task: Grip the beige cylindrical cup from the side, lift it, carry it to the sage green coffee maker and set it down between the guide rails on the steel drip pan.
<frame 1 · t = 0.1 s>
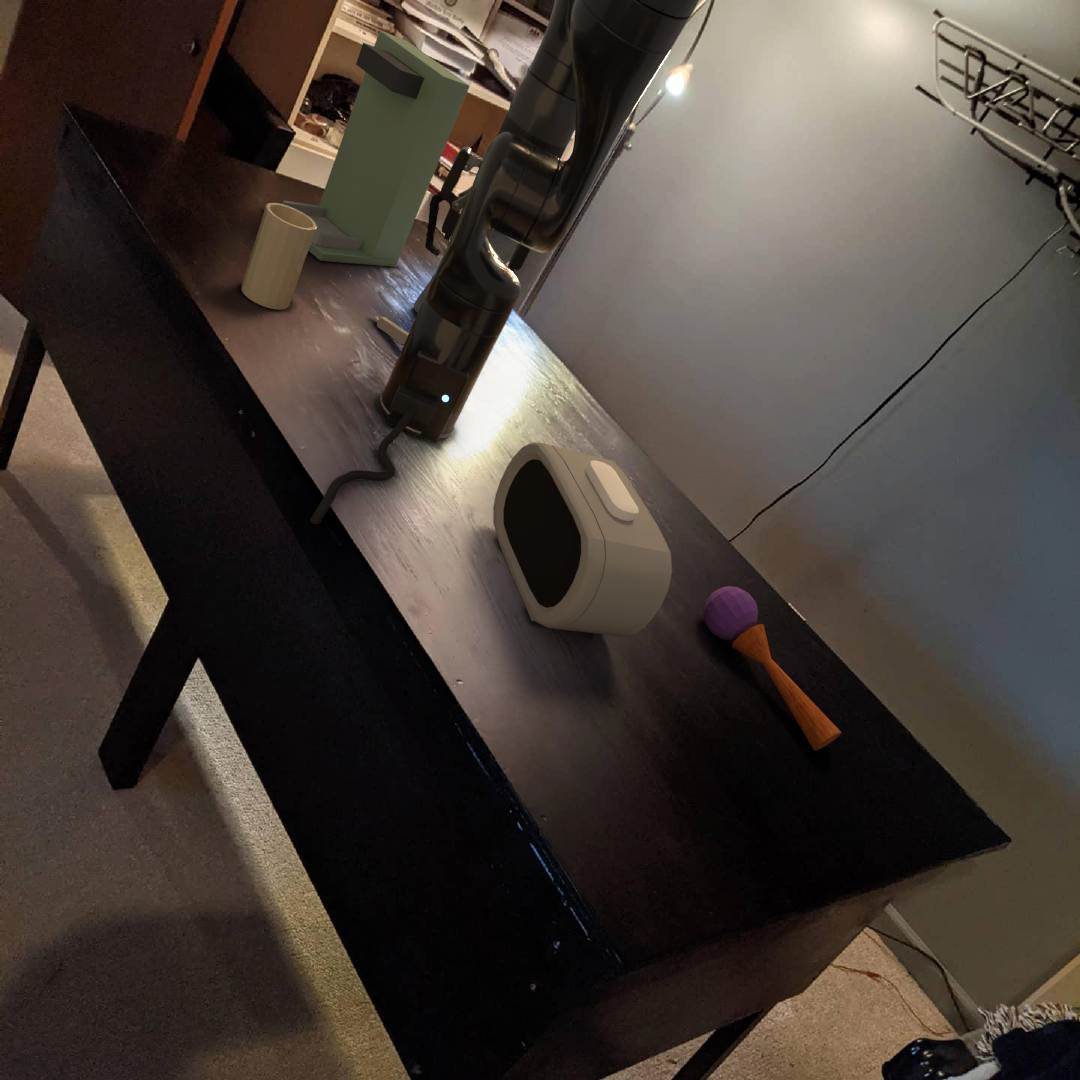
hand: (478, 253, 103), 17 cm above the table, tool pointing down, fingers open, 8 cm apart
alarm clock: (544, 585, 87), on the table
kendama: (754, 679, 93), on the table
moka pot: (436, 322, 128), on the table
coffee maker: (317, 238, 130), on the table
caliper: (411, 364, 112), on the table
beige cylindrical cup: (265, 296, 107), on the table
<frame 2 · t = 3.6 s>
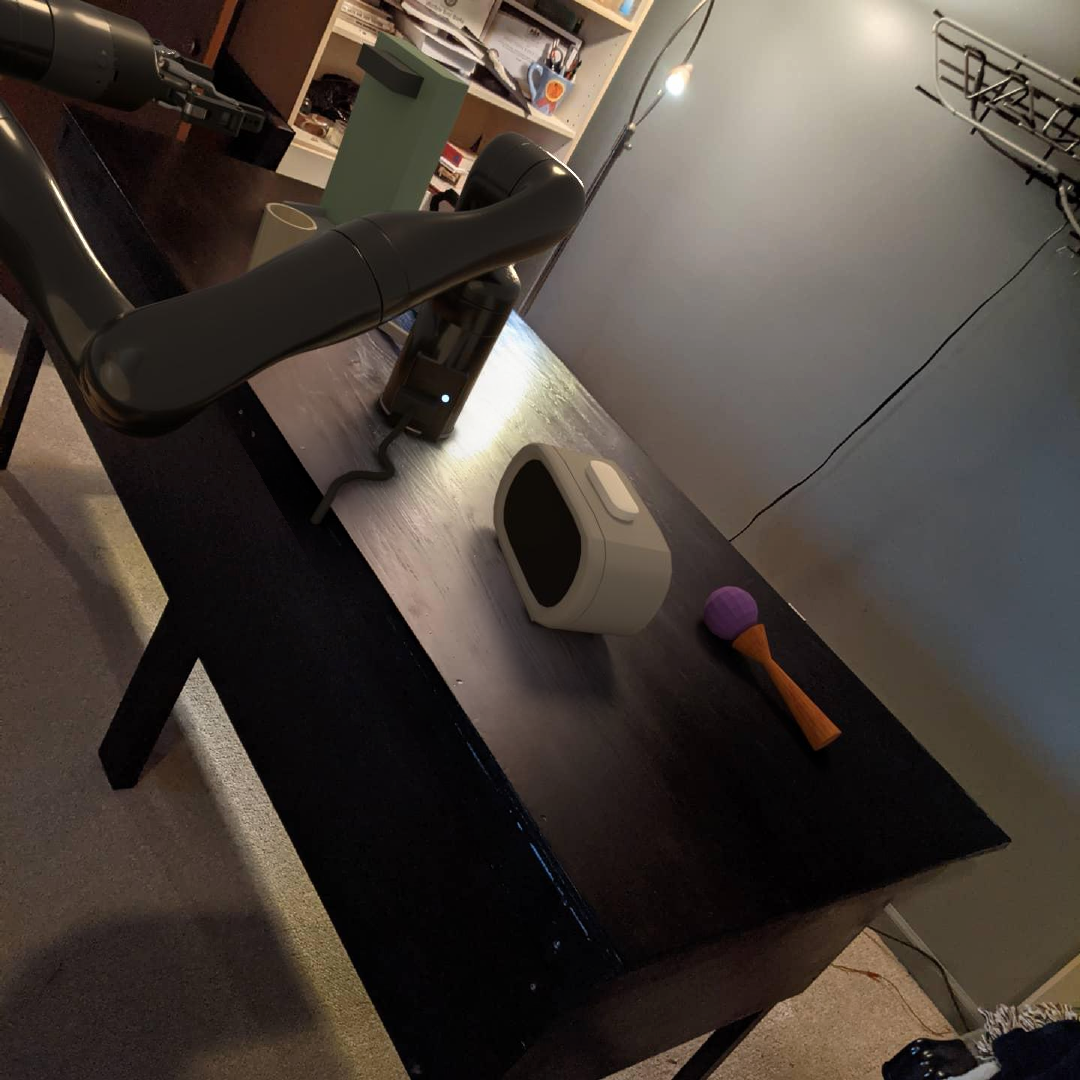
hand: (235, 100, 86), 23 cm above the table, tool horizontal, fingers open, 8 cm apart
nothing on the table moved.
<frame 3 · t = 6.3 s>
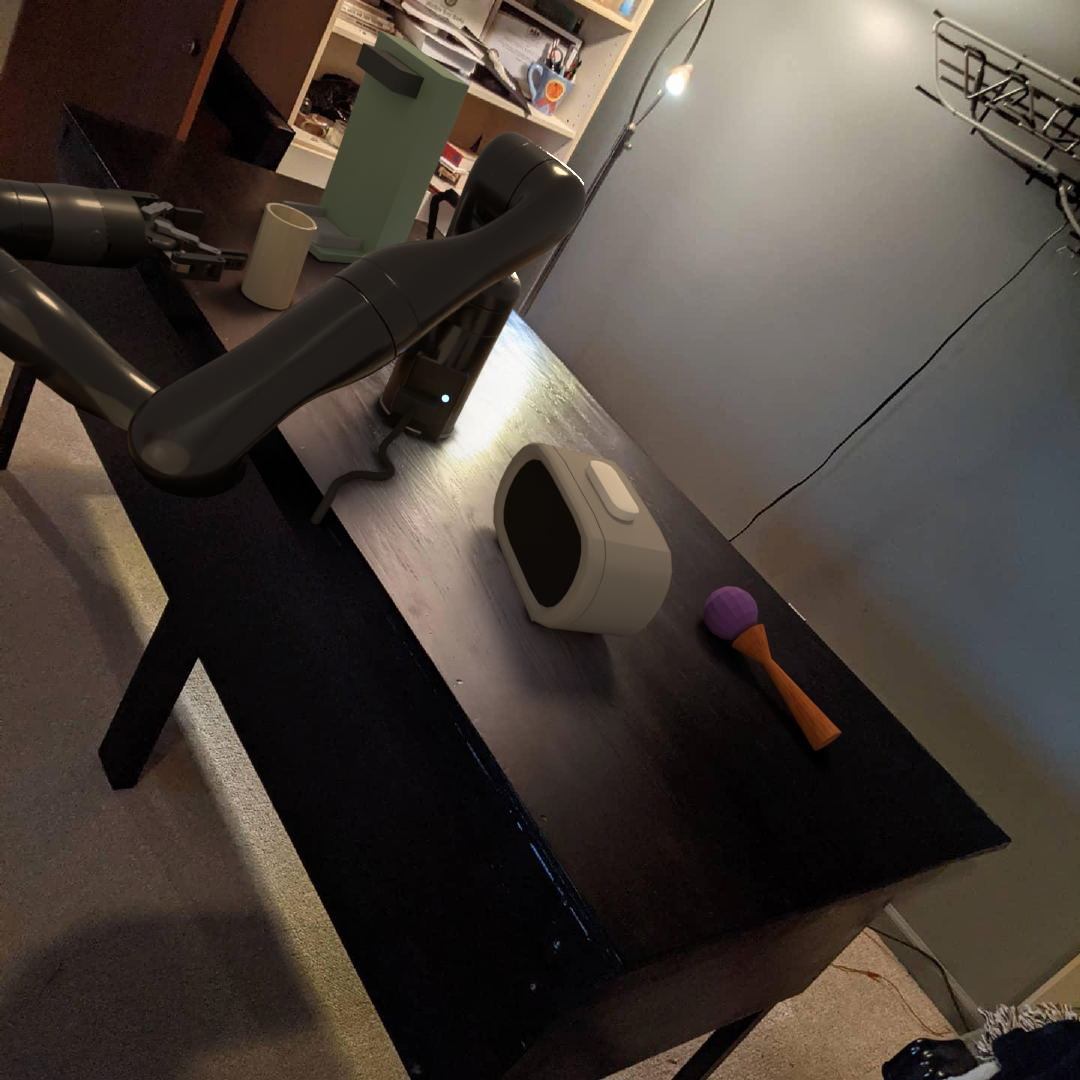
hand: (223, 240, 96), 7 cm above the table, tool horizontal, fingers open, 8 cm apart
nothing on the table moved.
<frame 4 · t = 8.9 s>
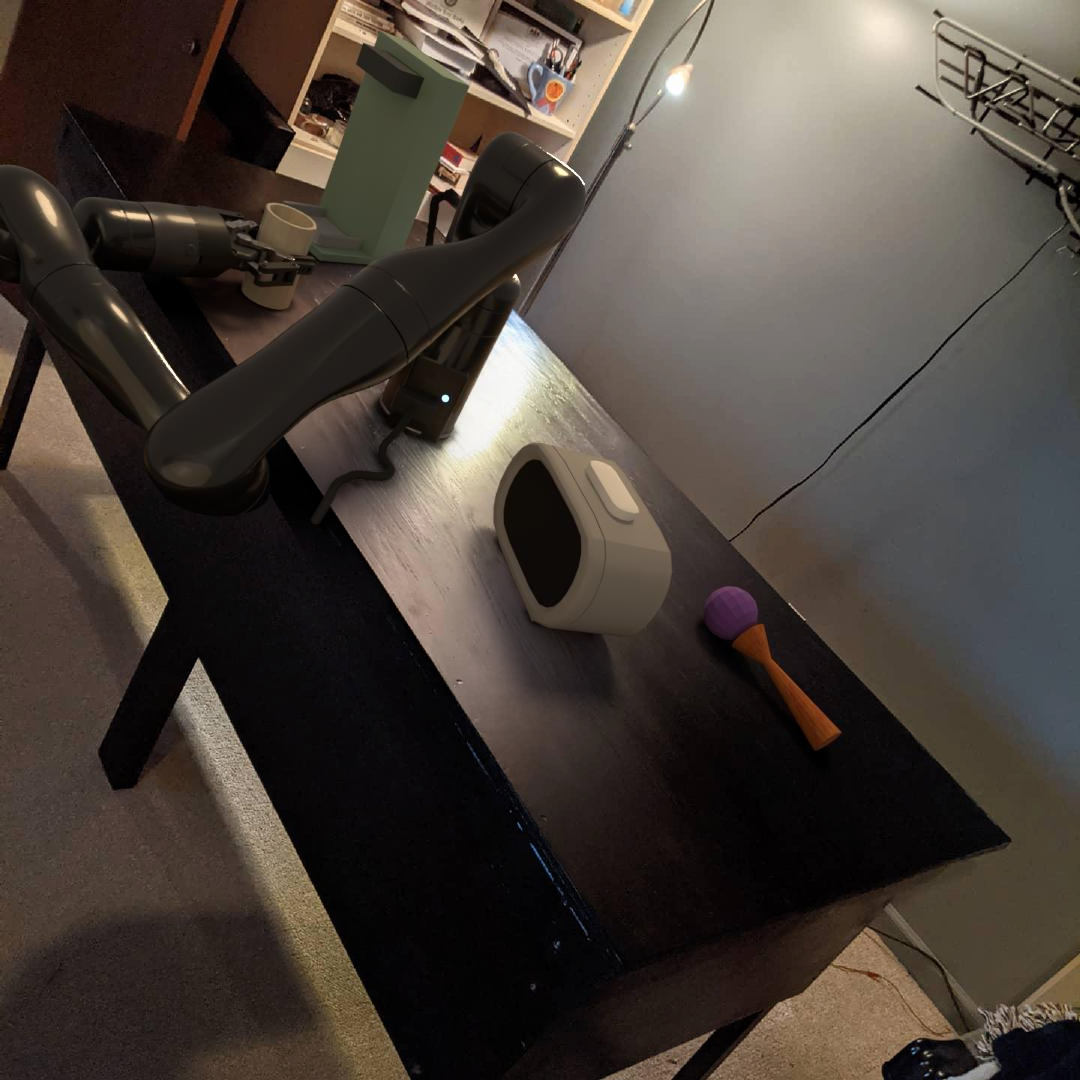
hand: (296, 251, 105), 7 cm above the table, tool horizontal, fingers closed on beige cylindrical cup, 6 cm apart
beige cylindrical cup: (265, 296, 107), on the table, touching gripper
everything else where it was.
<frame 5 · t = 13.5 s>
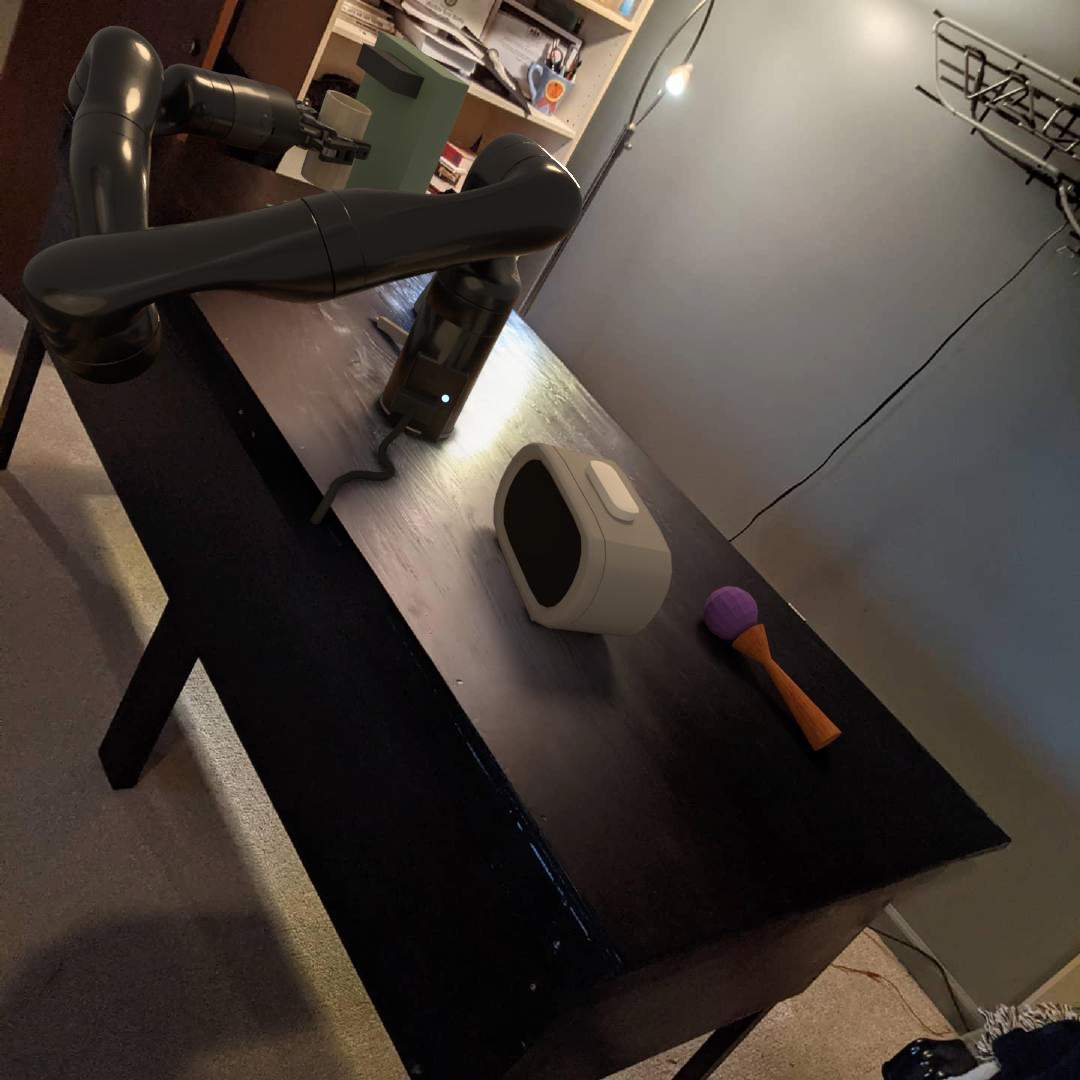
hand: (351, 139, 114), 18 cm above the table, tool horizontal, fingers closed on beige cylindrical cup, 6 cm apart
beige cylindrical cup: (322, 182, 115), point 11 cm above the table, touching gripper
everything else where it was.
when the fingers open (8 cm above the table, at t = 18.1 s): beige cylindrical cup stays where it is, resting on coffee maker.
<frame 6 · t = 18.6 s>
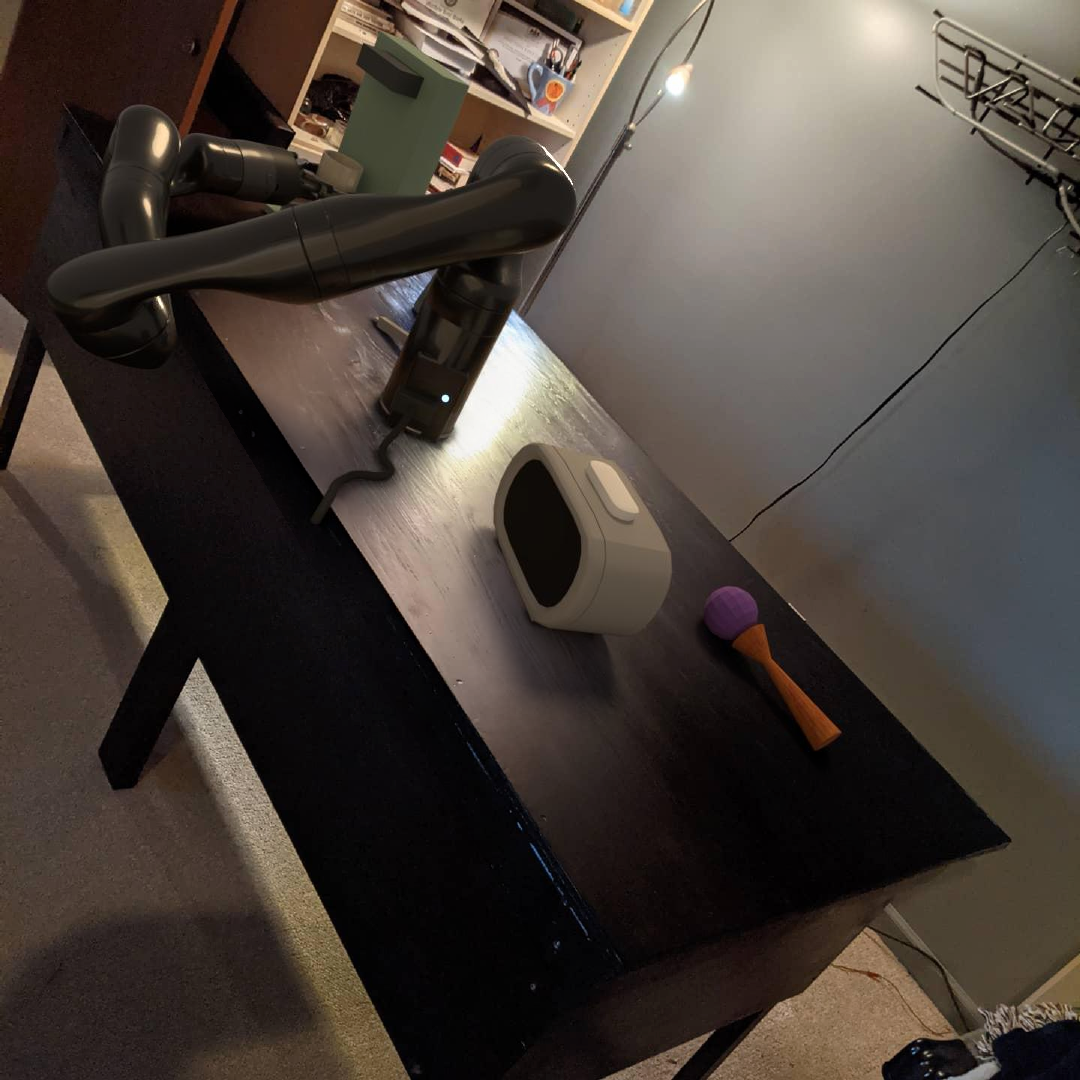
hand: (344, 188, 127), 8 cm above the table, tool horizontal, fingers open, 8 cm apart
beige cylindrical cup: (319, 229, 129), point 1 cm above the table, touching coffee maker
everything else where it was.
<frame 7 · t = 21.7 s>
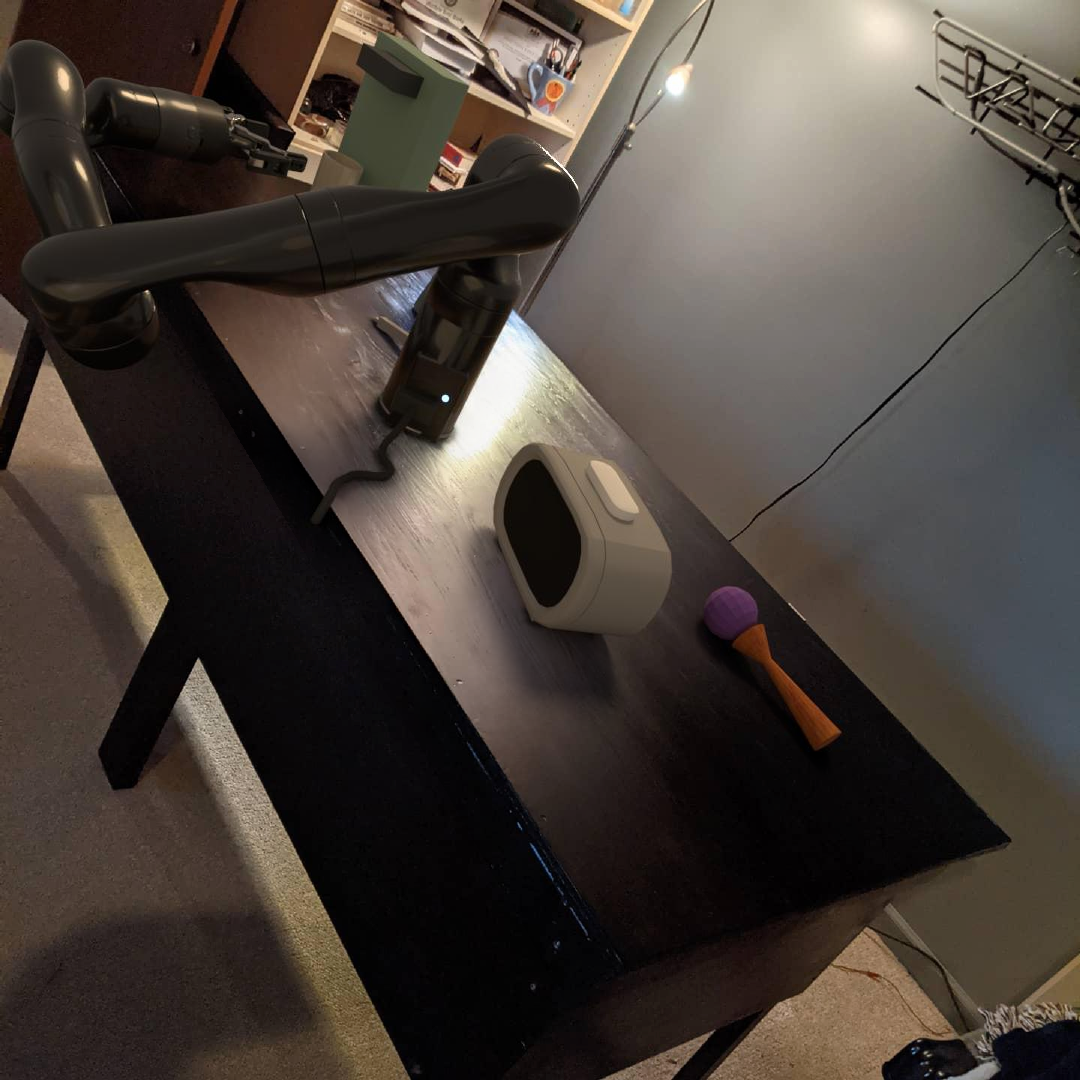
hand: (285, 148, 115), 12 cm above the table, tool horizontal, fingers open, 8 cm apart
nothing on the table moved.
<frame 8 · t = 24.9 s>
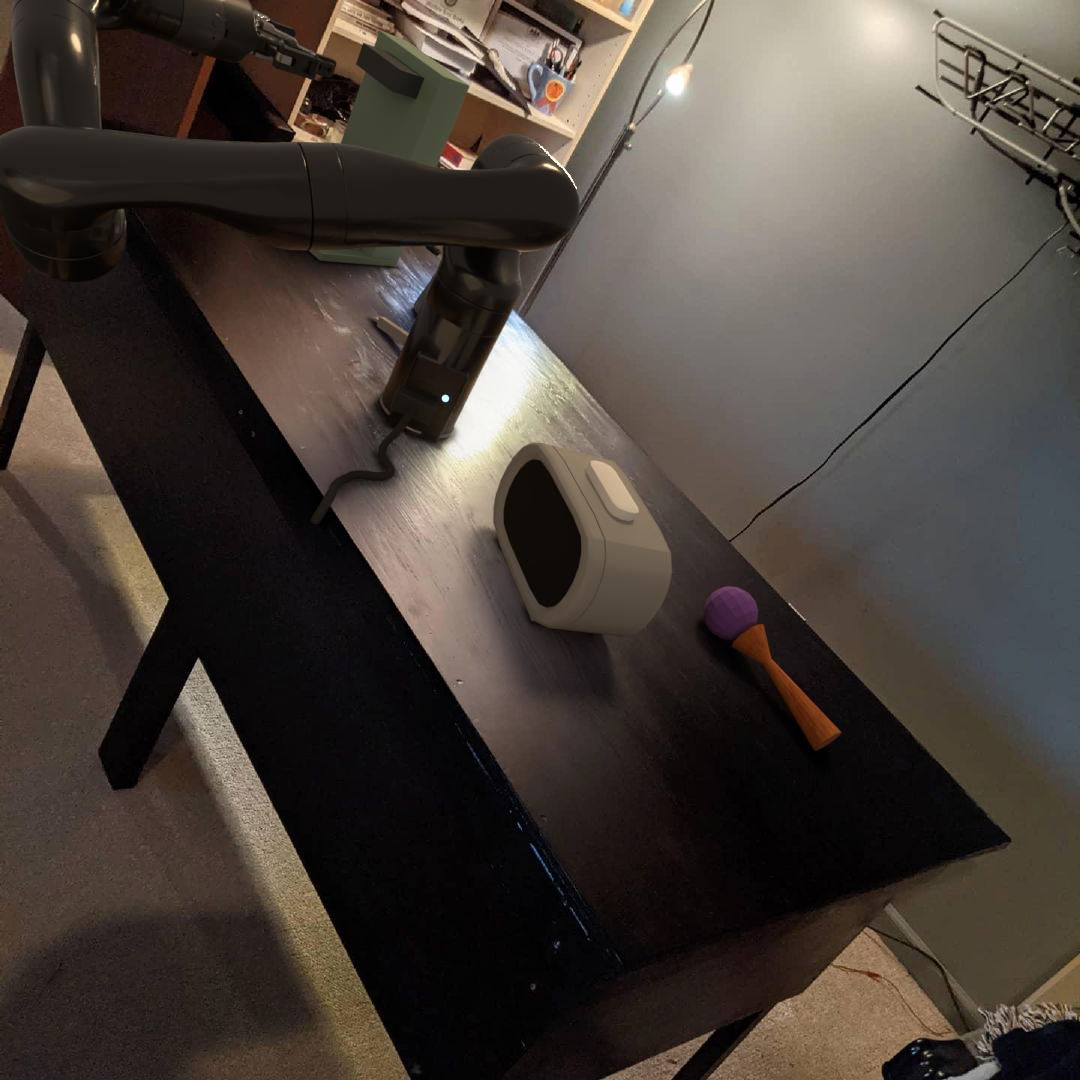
hand: (312, 53, 108), 25 cm above the table, tool horizontal, fingers open, 8 cm apart
nothing on the table moved.
at the end: beige cylindrical cup 0.1 cm off-centre on the coffee maker, point 1.5 cm above the coffee maker's base; beige cylindrical cup tilted 0° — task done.
